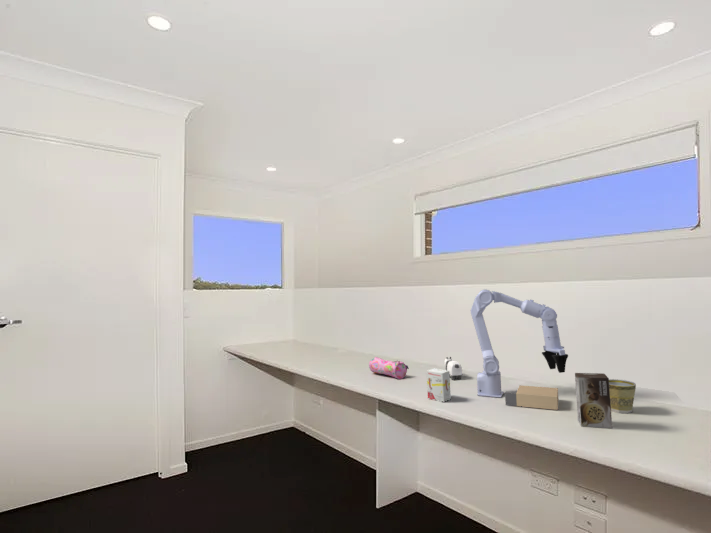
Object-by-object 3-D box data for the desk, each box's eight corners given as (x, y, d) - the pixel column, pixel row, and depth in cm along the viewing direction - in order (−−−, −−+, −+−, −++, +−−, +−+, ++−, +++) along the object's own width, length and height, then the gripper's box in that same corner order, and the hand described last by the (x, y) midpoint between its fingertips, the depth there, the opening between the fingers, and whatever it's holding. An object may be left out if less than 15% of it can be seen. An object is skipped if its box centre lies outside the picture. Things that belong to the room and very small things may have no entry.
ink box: (427, 398, 173) (425, 369, 174) (434, 396, 176) (433, 368, 177) (443, 402, 167) (442, 372, 167) (451, 400, 170) (450, 370, 170)
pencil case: (409, 377, 212) (408, 359, 212) (396, 380, 206) (396, 362, 206) (380, 371, 228) (380, 355, 228) (368, 374, 222) (367, 357, 223)
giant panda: (463, 380, 202) (462, 360, 202) (452, 381, 201) (451, 361, 201) (451, 373, 216) (450, 355, 217) (441, 374, 215) (440, 355, 216)
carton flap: (505, 404, 160) (505, 392, 160) (505, 404, 160) (505, 392, 160) (557, 409, 152) (557, 396, 152) (557, 409, 152) (557, 396, 152)
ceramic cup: (626, 416, 143) (625, 387, 143) (598, 409, 151) (596, 381, 152) (648, 410, 149) (646, 382, 149) (619, 403, 157) (618, 376, 158)
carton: (517, 406, 159) (516, 392, 159) (520, 397, 169) (519, 385, 170) (557, 410, 152) (557, 396, 153) (558, 401, 163) (557, 388, 163)
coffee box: (607, 422, 138) (604, 373, 139) (612, 428, 132) (609, 377, 133) (577, 420, 141) (574, 372, 142) (580, 426, 135) (577, 376, 136)
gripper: (570, 337, 162) (576, 372, 161) (553, 333, 176) (558, 366, 175) (552, 339, 162) (558, 375, 161) (536, 336, 176) (541, 368, 175)
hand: (557, 370), depth 168 cm, fingers open, 7 cm apart
